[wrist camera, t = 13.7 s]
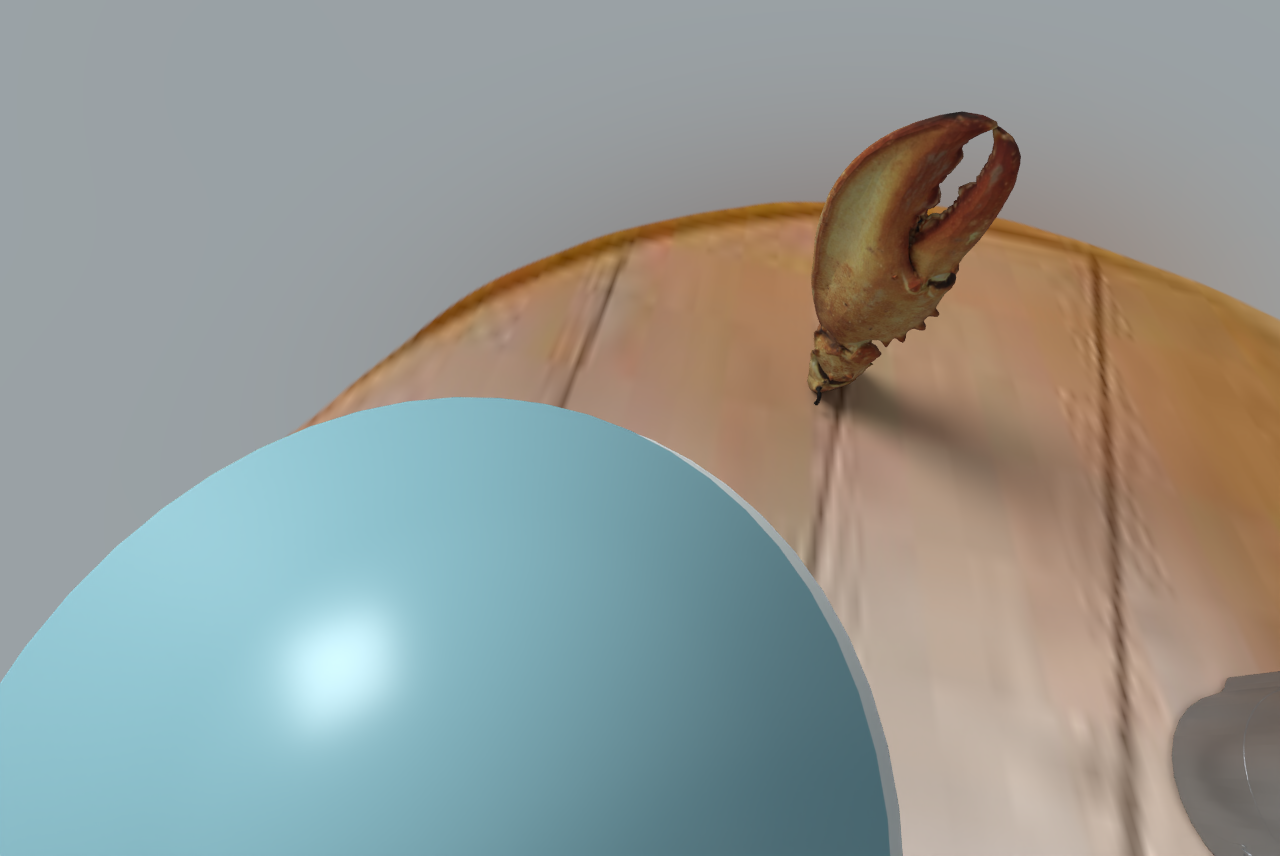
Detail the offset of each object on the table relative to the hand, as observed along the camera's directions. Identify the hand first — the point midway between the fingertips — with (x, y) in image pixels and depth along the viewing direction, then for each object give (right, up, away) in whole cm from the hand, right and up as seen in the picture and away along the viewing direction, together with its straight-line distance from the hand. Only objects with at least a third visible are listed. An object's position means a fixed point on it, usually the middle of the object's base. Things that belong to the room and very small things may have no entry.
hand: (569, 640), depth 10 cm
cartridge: (-1, -5, +5) cm, 7 cm away
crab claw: (+12, +6, +31) cm, 33 cm away
